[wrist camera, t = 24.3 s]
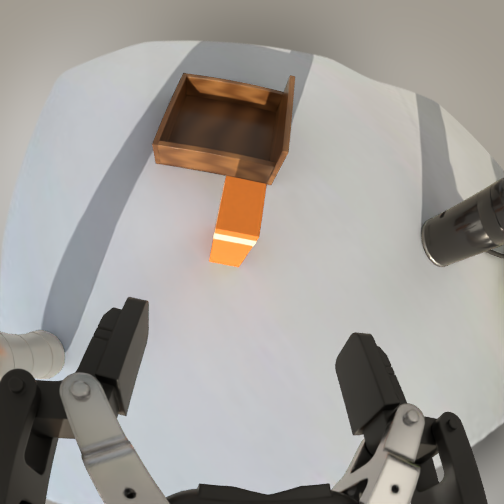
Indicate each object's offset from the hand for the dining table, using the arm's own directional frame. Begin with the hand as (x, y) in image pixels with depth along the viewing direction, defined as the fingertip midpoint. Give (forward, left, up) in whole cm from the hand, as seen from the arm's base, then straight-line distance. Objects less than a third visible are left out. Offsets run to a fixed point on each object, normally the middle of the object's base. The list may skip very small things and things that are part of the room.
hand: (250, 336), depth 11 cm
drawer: (+4, -30, -27) cm, 40 cm away
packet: (0, -12, -27) cm, 29 cm away
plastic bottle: (+22, +8, -27) cm, 36 cm away
